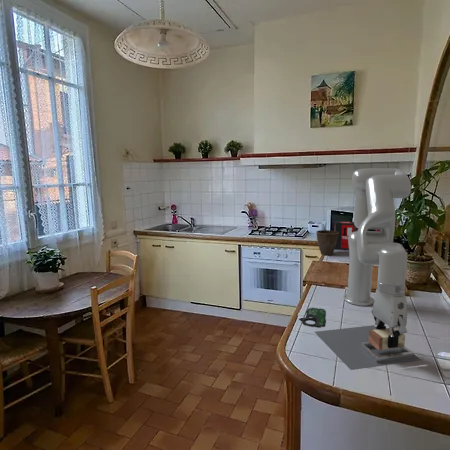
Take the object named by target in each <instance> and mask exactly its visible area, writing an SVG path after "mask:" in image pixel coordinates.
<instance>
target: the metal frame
mask: <svg viewBox="0 0 450 450" xmlns="http://www.w3.org/2000/svg"><path fill="white" fill-rule="evenodd" d="M370 347H374V346H373V345H372V344H370V343H369V342H362V343H359V348H360V349H361V350H362V351H364V352H365V353H366V354H367V355H368V356H369V357H370V358H372V359H373V360H374V361H375V362H376V363H379V362H386V361H394V360H401V359H408V358H414V355H415V352H413V351H412V350H411V349H410V348H408V347H406V346H405V345H404V347H400V348H398V349H400V350H401V351H402V352H404V353H397V354H389V355H382V356H377V355H376V354H375V353H373V352H372V351H371V350H370V349H369V348H370Z"/></svg>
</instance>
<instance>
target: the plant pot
mask: <svg viewBox="0 0 450 450" xmlns="http://www.w3.org/2000/svg"><path fill="white" fill-rule="evenodd" d="M338 235H339V232H337V231H335V230H330V229H329V230H328V229H323V230H321V229H320V230H317V231H316V240H317V245H318V249H319V252H320V254H321V255H322V256H328V257H329V256H332V255H334V254H333V253H334V252H335V250H334V249H335V247H336V243H337V240H338Z"/></svg>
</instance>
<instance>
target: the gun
mask: <svg viewBox="0 0 450 450" xmlns="http://www.w3.org/2000/svg"><path fill="white" fill-rule="evenodd" d="M305 313H306V315H305V317H299V318H298V320H299V321H301V323H302V325H303V326H306V327H315V328H320V327H322V328H324V327H325V326H326V324H327V319H326V309H324V308H318V307H309V308H308V309H307V310H306V311H305ZM307 321H311V322H314V323H307Z"/></svg>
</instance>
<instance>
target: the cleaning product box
mask: <svg viewBox="0 0 450 450" xmlns="http://www.w3.org/2000/svg"><path fill="white" fill-rule="evenodd" d="M334 231H337V232H339V235H338V240H337V243H336V247H335V249H334V251H335V250H336V251H338V250H339V251H349V244H348V238H349V235H350V234H351V233H352V232H355V231H358V228H357V227H356V226H355V225H354V221H343V220H342V221H339V220H337V221H334Z"/></svg>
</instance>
